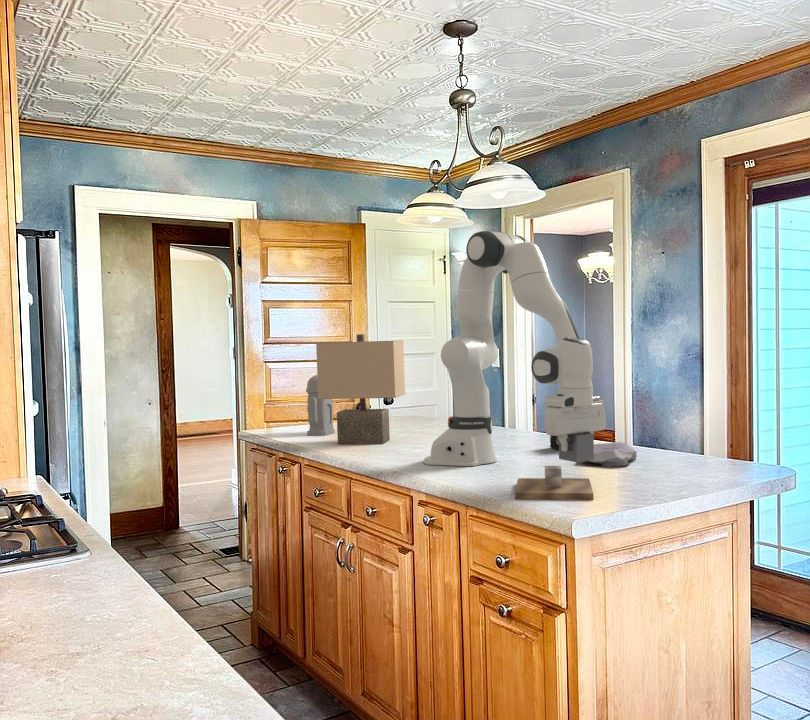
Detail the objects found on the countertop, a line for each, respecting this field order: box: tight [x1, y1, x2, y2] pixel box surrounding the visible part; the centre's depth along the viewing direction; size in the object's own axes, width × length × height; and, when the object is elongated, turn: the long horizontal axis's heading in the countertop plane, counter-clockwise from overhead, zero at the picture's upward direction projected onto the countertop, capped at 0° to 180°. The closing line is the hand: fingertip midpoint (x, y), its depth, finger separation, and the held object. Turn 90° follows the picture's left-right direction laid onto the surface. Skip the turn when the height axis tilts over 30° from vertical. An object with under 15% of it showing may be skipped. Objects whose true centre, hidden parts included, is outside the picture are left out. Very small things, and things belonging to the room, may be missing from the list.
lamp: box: [315, 333, 406, 445], centre depth 281 cm, size 29×18×41 cm, turn 79°
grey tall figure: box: [305, 374, 336, 437], centre depth 311 cm, size 15×10×25 cm
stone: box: [581, 442, 638, 467], centre depth 222 cm, size 20×15×5 cm
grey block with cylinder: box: [556, 432, 595, 463], centre depth 200 cm, size 6×9×7 cm
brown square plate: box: [514, 465, 595, 501], centre depth 182 cm, size 18×18×6 cm
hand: (576, 449), depth 198 cm, fingers closed on grey block with cylinder, 6 cm apart
